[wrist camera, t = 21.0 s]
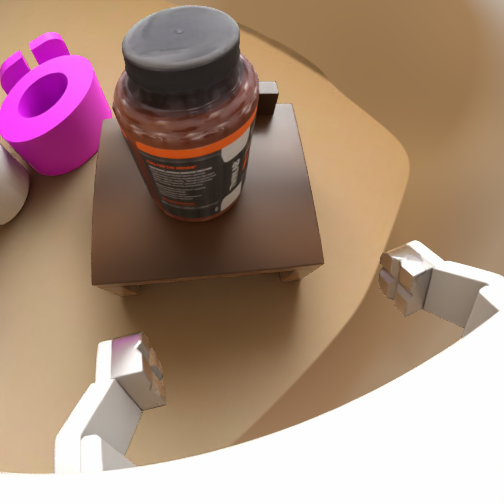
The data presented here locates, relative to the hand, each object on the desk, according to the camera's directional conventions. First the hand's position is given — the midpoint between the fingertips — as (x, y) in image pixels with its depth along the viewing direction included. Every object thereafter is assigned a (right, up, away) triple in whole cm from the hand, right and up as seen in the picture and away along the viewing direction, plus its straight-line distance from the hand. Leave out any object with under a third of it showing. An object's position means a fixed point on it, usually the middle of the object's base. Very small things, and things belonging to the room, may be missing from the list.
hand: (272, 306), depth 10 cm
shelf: (-5, +5, +15) cm, 16 cm away
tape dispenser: (-21, +16, +16) cm, 31 cm away
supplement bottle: (-4, +6, +9) cm, 12 cm away
